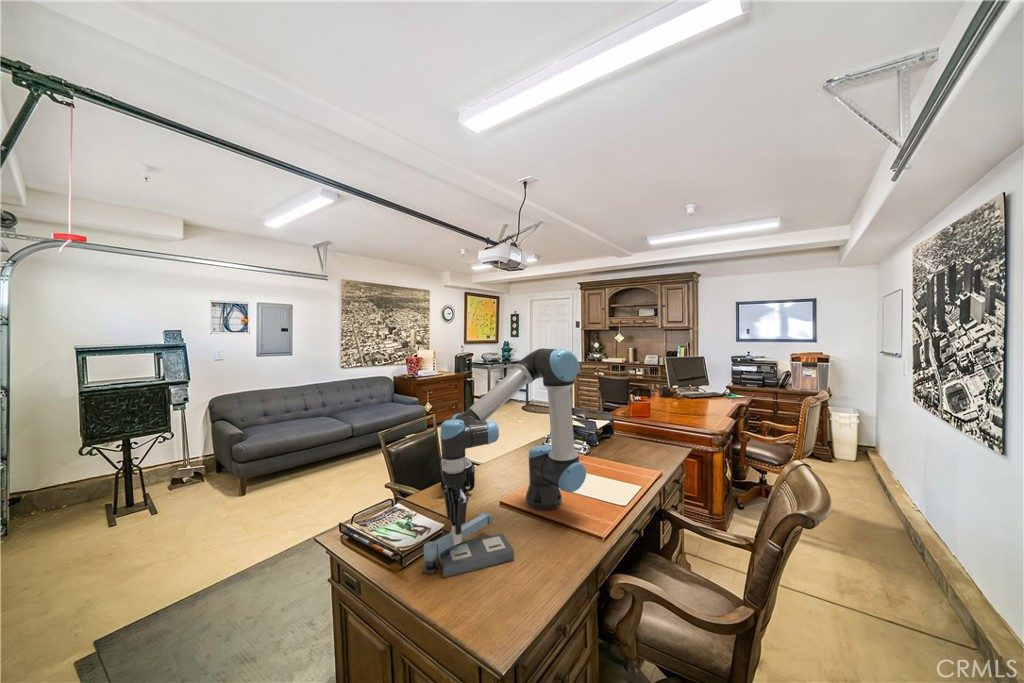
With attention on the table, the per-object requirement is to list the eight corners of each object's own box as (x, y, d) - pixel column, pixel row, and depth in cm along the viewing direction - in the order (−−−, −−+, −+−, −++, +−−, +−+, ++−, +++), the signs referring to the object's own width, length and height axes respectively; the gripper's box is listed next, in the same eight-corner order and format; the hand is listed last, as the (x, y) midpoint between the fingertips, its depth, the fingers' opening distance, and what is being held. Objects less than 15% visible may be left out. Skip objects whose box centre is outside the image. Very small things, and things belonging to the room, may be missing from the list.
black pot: (474, 498, 158) (473, 470, 157) (437, 498, 158) (436, 471, 157) (478, 482, 174) (477, 457, 174) (444, 483, 174) (444, 458, 174)
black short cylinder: (438, 562, 114) (437, 551, 114) (440, 572, 109) (440, 560, 109) (421, 566, 112) (421, 555, 112) (423, 576, 108) (423, 564, 108)
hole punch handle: (429, 563, 108) (428, 550, 108) (421, 558, 111) (420, 545, 110) (492, 524, 129) (491, 514, 129) (484, 521, 131) (483, 510, 131)
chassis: (503, 541, 125) (502, 531, 124) (514, 560, 114) (513, 549, 114) (438, 556, 117) (437, 546, 117) (443, 577, 107) (443, 566, 107)
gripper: (434, 467, 118) (437, 538, 119) (453, 478, 108) (456, 556, 109) (454, 461, 123) (457, 530, 123) (474, 471, 113) (477, 547, 113)
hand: (456, 542), depth 116 cm, fingers closed
